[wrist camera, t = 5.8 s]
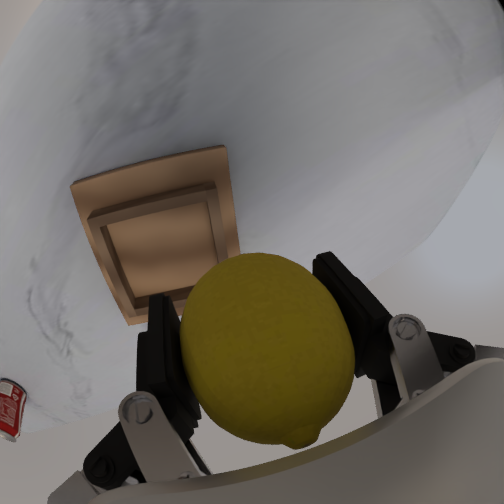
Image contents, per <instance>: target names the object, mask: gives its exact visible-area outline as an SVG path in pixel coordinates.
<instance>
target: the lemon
mask: <svg viewBox="0 0 504 504" xmlns="http://www.w3.org/2000/svg"><path fill="white" fill-rule="evenodd" d="M180 347H181V357H182V363H183V367H184V371H185V374H186V377H187V380H188V382H189V384H190V387H191V389H192V391H193V393H194V395H195V396H196V398H197V400H198V402H199V403H200V405H201V406H202V408H203V409H204V411H205V412H206V413H207V415H208V416H209V417H210V419H212V420H213V421H214V422H215V423H216V424H217V425H218V426H219V427H221V428H223V429H224V430H226V431H228V432H229V433H231V434H233V435H235V436H236V437H239V438H241V439H244V440H247V441H251V442H255V443H260V444H271V445H274V444H275V445H279V444H283V445H285V446H288V447H289V448H292V449H295V450H296V449H301V448H304V447H307V446H309V445H311V444H313V443H315V442H316V441H317V439H318V436H319V434H320V431H321V429H322V428H323V427H324V426H326V425H327V424H328V423H329V422H330V421H331V420H332V418H334V416H335V415H336V414H337V413H338V412H339V410H340V409H341V407H342V406H343V403H344V402H345V400H346V398H347V396H348V394H349V392H350V389H351V386H352V382H353V379H354V368H355V354H354V347H353V343H352V339H351V335H350V332H349V329H348V327H347V325H346V322H345V320H344V317H343V315H342V313H341V310H340V308H339V306H338V305H337V303H336V301H335V299H334V298H333V296H332V295H331V293H330V292H329V291H328V290H327V288H326V287H325V286H324V285H323V284H322V283H321V282H320V281H319V280H318V279H317V278H316V277H315V276H314V275H312V274H311V273H310V272H309V271H308V270H307V269H305V268H304V267H303V266H301V265H299V264H298V263H295V262H293V261H291V260H289V259H286V258H284V257H282V256H279V255H273V254H266V253H248V254H241V255H238V256H234V257H231V258H228V259H226V260H224V261H222V262H220V263H219V264H217V265H215V266H213V267H212V268H211V269H210V270H209V271H208V272H207V273H205V274H204V275H203V276H202V277H201V278H200V279H199V280H198V282H197V283H196V285H195V286H194V288H193V289H192V291H191V292H190V294H189V296H188V298H187V301H186V304H185V307H184V311H183V314H182V318H181V323H180Z"/></svg>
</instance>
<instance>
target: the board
mask: <svg viewBox="0 0 504 504" xmlns="http://www.w3.org/2000/svg"><path fill="white" fill-rule="evenodd" d="M70 189H71V192H72V195H73V198H74V202H75V205H76V208H77V210H78V213H79V216H80V219H81V222H82V225H83V227H84V230H85V233H86V235H87V238H88V240H89V243H90V245H91V248H92V250H93V253H94V255H95V257H96V260H97V262H98V264H99V267H100V269H101V271H102V273H103V276H104V278H105V280H106V282H107V284H108V286H109V289H110V291H111V293H112V295H113V297H114V299H115V301H116V303H117V305H118V307H119V309H120V311H121V313H122V314H123V316H124V318H125V320H126V322H127V324H128V326H129V325H135V324H140V323H145V322H148V308H149V296H151V295H155V294H160V293H164V294H165V296H168V295H170V297H171V300H172V302H173V305H174V307H175V310H176V312H177V315H178V316H180V315H182V314H183V311H184V307H185V304H186V301H187V298H188V296H189V294H190V292H191V291H192V289H193V288H194V286H195V285H196V283H197V282H198V280H199V279H200V278H201V277H202V276H203V275H204V274H205V273H207V272H208V271H209V270H210V269H211V268H212V267H213V266H215V265H217V264H219V263H220V262H222V261H224V260H226V259H228V258H231V257H234V256H238V255H240V247H239V240H238V233H237V226H236V218H235V211H234V203H233V196H232V188H231V181H230V173H229V165H228V158H227V150H226V147H225V146H224V145H219V146H213V147H207V148H202V149H196V150H191V151H186V152H182V153H177V154H172V155H168V156H163V157H159V158H155V159H151V160H147V161H143V162H139V163H135V164H131V165H127V166H124V167H120V168H117V169H113V170H110V171H106V172H103V173H100V174H97V175H94V176H90V177H87V178H84V179H81V180H78V181H75V182H74V183H73V184H72V185H71V186H70Z"/></svg>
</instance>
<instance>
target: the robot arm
mask: <svg viewBox="0 0 504 504" xmlns="http://www.w3.org/2000/svg"><path fill="white" fill-rule="evenodd" d="M312 275H314V276H315V277H316V278H317V279H318V280H319V281H320V282H321V283H322V284H323V285H324V286H325V287H326V288H327V290H328V291H329V292H330V293H331V295H332V296H333V298H334V299H335V301H336V303H337V305H338V306H339V308H340V310H341V313H342V315H343V317H344V320H345V322H346V325H347V327H348V329H349V332H350V335H351V339H352V343H353V347H354V354H355V368H354V374H355V376H356V377H357V378H359V377H361V376H363V375H365V374H366V375H367V377H368V378H370V379H371V382H372V387H373V393H374V398H375V403H376V409H377V415H378V419H377V420H375V421H373V422H371V423H369V424H367V425H365V426H363V427H361V428H358V429H356V430H354V431H352V432H350V433H348V434H345V435H343V436H341V437H339V438H336V439H334V440H331V441H329V442H326V443H324V444H322V445H319V446H316V447H314V448H311V449H308V450H305V451H302V452H299V453H296V454H294V455H290V456H287V457H284V458H281V459H277V460H274V461H271V462H267V463H263V464H259V465H255V466H252V467H248V468H243V469H239V470H235V471H229V472H224V473H219V474H213V473H212V471H211V470H210V469H209V467H208V466H207V464H206V463H205V461H204V460H203V458H202V457H201V455H200V453H199V452H198V451H197V449H196V447H195V446H194V444H193V443H192V441H191V439H190V437H191V436H192V435H193V434H194V429H193V428H197V427H198V422H197V420H200V419H201V411H200V406H199V402H198V400H197V398H196V396H195V395H194V393H193V391H192V389H191V387H190V384H189V382H188V380H187V377H186V374H185V371H184V367H183V363H182V357H181V347H180V323H181V322H180V320H179V317H178V315H177V312H176V310H175V307H174V305H173V302H172V300H171V297H170V295H168V296H165V294H164V293H160V294H155V295H151V296H149V308H148V331H146V332H141V333H139V334H138V342H137V368H136V392H133V393H130V394H129V395H127V396H126V397H125V398H124V399H123V400H122V401H121V403H120V405H119V409H118V415H119V419H120V421H119V422H118V423H117V425H116V426H115V427H114V428H113V429H112V430H111V431H110V432H109V433H108V434H107V435H106V436H105V437H104V438H103V439H102V440H101V441H100V442H99V443H98V444H97V446H96V447H95V448H94V449H93V450H92V451H91V452H90V453H89V454H88V455H87V457H86V458H85V460H84V463H83V470H82V471H81V472H80V471H76V472H75V473H74V474H73V475H72V476H71V477H70V478H68V479H67V480H66V481H65V482H64V483H63V484H62V485H61V486H59V487H58V488H57V489H56V490H55V491H54V492H52V493H51V494H50V496H49V497H48V502H47V504H504V348H499V347H491V346H482V345H475V346H474V347H473V346H472V345H471V343H470V342H468V341H467V340H465V339H462V338H458V337H453V336H448V335H443V334H438V333H433V332H428V331H426V329H425V327H424V325H423V323H422V322H421V321H420V320H419V319H418V318H416V317H415V316H413V315H409V314H399V315H396V316H395V317H393V316H392V315H391V314H389V312H388V311H387V310H386V308H385V307H384V306H383V305H382V304H381V303H380V302H379V301H378V299H377V298H376V297H375V296H374V295H373V294H372V293H371V292H370V291H369V290H368V288H367V287H366V286H365V285H364V284H363V283H362V282H361V281H360V280H359V279H358V278H357V277H355V276H354V275H353V274H352V273H351V272H350V271H349V270H348V269H347V268H346V267H345V266H344V265H343V264H342V262H341V261H340V260H339V259H338V258H337V257H336V256H335V255H334V254H333V253H332V252H330V251H329V252H325V253H321V254H318V255H317V256H316V259H313V273H312Z"/></svg>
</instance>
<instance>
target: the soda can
mask: <svg viewBox="0 0 504 504" xmlns="http://www.w3.org/2000/svg"><path fill="white" fill-rule="evenodd" d="M25 402H26V394H25V392H24V391H23V390H22V389H21V387H19V386H18V385H17V384H15V383H13V382H11V381H8V380H1V381H0V437H2V438H4V439H6V440H9V441H11V442H16V439H17V438H18V437H19V436H20V431H21V424H22V418H23V412H24V407H25Z"/></svg>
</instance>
